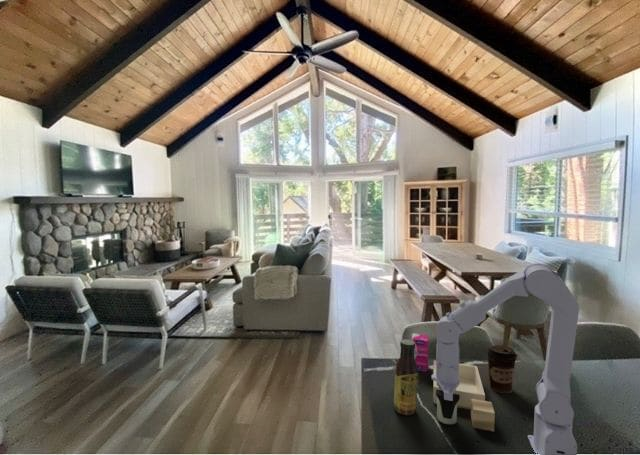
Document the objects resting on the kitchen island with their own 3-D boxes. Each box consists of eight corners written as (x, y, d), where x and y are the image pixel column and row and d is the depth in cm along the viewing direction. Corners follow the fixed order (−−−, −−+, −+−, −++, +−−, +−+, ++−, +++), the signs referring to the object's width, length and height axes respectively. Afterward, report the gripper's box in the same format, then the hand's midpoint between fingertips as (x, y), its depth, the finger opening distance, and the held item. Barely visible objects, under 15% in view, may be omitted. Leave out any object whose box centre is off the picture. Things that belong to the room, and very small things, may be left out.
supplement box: (410, 370, 115) (411, 338, 114) (411, 362, 121) (411, 332, 120) (428, 372, 113) (428, 340, 112) (427, 364, 119) (428, 334, 118)
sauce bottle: (400, 418, 89) (401, 348, 88) (389, 405, 95) (390, 339, 94) (421, 414, 91) (422, 345, 89) (409, 401, 97) (410, 336, 95)
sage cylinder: (457, 426, 85) (457, 400, 84) (436, 422, 86) (437, 396, 86) (456, 414, 89) (456, 389, 89) (436, 410, 91) (437, 386, 90)
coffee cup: (521, 398, 98) (522, 356, 97) (491, 395, 100) (492, 354, 99) (510, 382, 106) (511, 344, 106) (482, 380, 108) (483, 342, 107)
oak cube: (494, 431, 84) (494, 413, 83) (472, 427, 85) (473, 409, 85) (490, 419, 88) (491, 402, 88) (470, 416, 90) (471, 398, 90)
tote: (484, 412, 91) (485, 395, 91) (433, 403, 96) (433, 386, 95) (476, 380, 108) (477, 366, 108) (433, 374, 112) (433, 360, 112)
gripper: (431, 349, 95) (431, 393, 96) (431, 373, 81) (430, 425, 82) (457, 352, 93) (457, 398, 93) (462, 377, 79) (461, 431, 80)
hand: (446, 411), depth 88 cm, fingers closed on sage cylinder, 5 cm apart
